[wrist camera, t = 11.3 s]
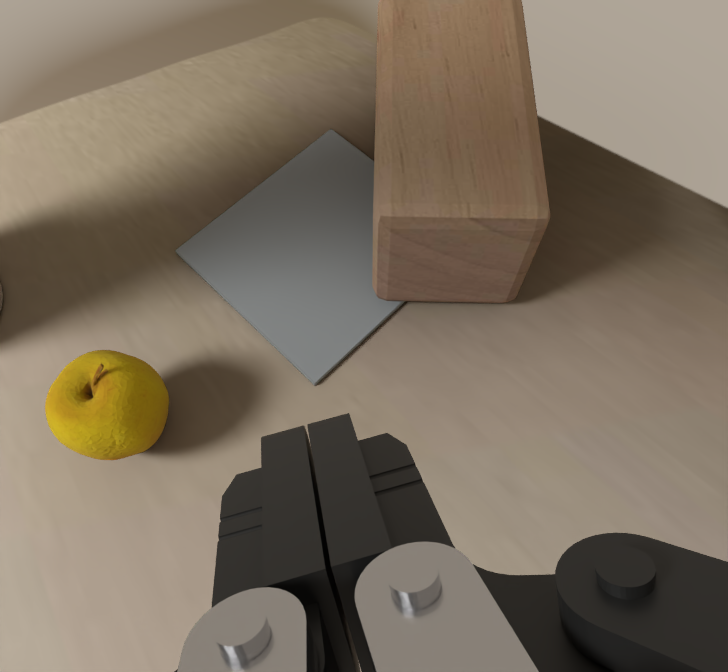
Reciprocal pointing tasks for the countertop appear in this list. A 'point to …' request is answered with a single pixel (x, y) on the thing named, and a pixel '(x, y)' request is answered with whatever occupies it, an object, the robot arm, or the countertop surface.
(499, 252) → the block
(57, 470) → the countertop surface
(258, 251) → the mat
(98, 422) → the apple
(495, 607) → the robot arm
